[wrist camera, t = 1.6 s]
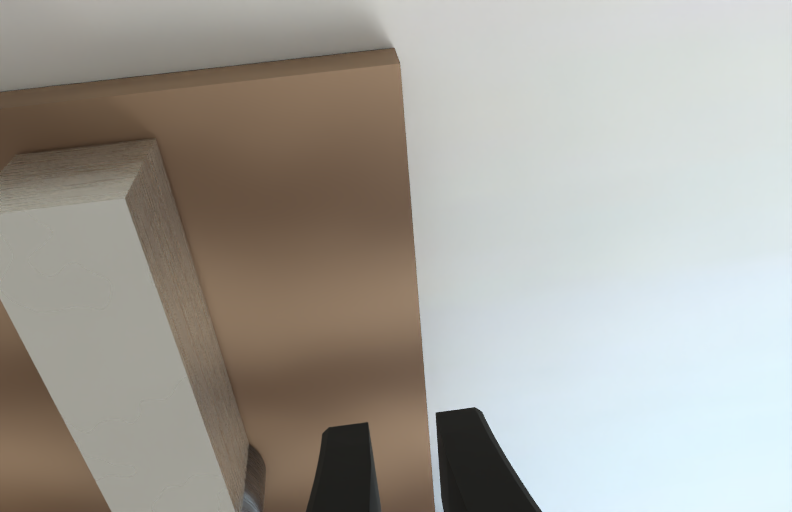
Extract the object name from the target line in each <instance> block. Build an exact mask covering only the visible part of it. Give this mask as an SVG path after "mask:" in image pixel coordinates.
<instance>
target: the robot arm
mask: <svg viewBox="0 0 792 512" xmlns="http://www.w3.org/2000/svg"><path fill="white" fill-rule="evenodd" d="M436 426H437V441H438V455H439V470H440V485H441V498H442V504H443V510H444V512H542V511H541V510H540V508H539V507H538V505H537V504H536V503H535V501H534V500H533V498H532V497H531V495H530V494H529V492H528V491H527V489H526V488H525V486H524V485H523V483H522V482H521V480H520V478H519V477H518V475H517V474H516V472H515V470H514V469H513V467H512V466H511V464H510V462H509V461H508V459H507V458H506V456H505V454H504V452H503V451H502V449H501V447H500V446H499V444H498V442H497V440H496V439H495V437H494V435H493V433H492V431H491V429H490V427H489V425H488V423H487V421H486V419H485V417H484V415H483V413H482V412H481V411H480V410H478V409H477V408H475V407H474V408H466V409H459V410H452V411H444V412H437V413H436ZM306 512H382V511H381V503H380V496H379V490H378V483H377V477H376V470H375V463H374V457H373V450H372V444H371V437H370V430H369V424H368V422H364V423H356V424H349V425H342V426H334V427H328V428H327V429H326V430H325V431H324V432H323V433H322V440H321V448H320V453H319V459H318V464H317V469H316V473H315V478H314V482H313V486H312V490H311V494H310V498H309V501H308V505H307V509H306Z"/></svg>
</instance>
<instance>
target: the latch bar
mask: <svg viewBox="0 0 792 512" xmlns="http://www.w3.org/2000/svg"><path fill="white" fill-rule="evenodd" d="M0 300H1V302H2V303H3V305H4V307H5V309H6V311H7V313H8V315H9V317H10V319H11V321H12V323H13V324H14V326H15V328H16V330H17V332H18V334H19V336H20V338H21V340H22V342H23V344H24V345H25V347H26V349H27V351H28V353H29V355H30V357H31V359H32V361H33V363H34V365H35V367H36V368H37V370H38V372H39V374H40V376H41V378H42V380H43V382H44V384H45V386H46V388H47V389H48V391H49V393H50V395H51V397H52V399H53V401H54V403H55V405H56V407H57V409H58V410H59V412H60V414H61V416H62V418H63V420H64V422H65V424H66V426H67V428H68V430H69V431H70V433H71V435H72V437H73V439H74V441H75V443H76V445H77V447H78V449H79V451H80V452H81V454H82V456H83V458H84V460H85V462H86V464H87V466H88V468H89V470H90V472H91V474H92V475H93V477H94V479H95V481H96V483H97V485H98V487H99V489H100V491H101V493H102V495H103V496H104V498H105V500H106V502H107V504H108V506H109V508H110V510H111V512H264V499H265V495H264V494H265V481H266V466H265V463H264V460H263V458H262V457H261V455H260V454H259V453H258V452H257V450H255V449H254V448H253V447H252V446H251V445H249V443H248V439H247V436H246V433H245V430H244V426H243V423H242V420H241V417H240V413H239V410H238V407H237V403H236V400H235V397H234V394H233V390H232V387H231V384H230V381H229V377H228V374H227V371H226V367H225V364H224V361H223V358H222V354H221V351H220V348H219V345H218V341H217V338H216V335H215V331H214V328H213V325H212V322H211V318H210V315H209V312H208V309H207V305H206V302H205V299H204V295H203V292H202V289H201V286H200V282H199V279H198V276H197V273H196V269H195V266H194V263H193V259H192V256H191V253H190V250H189V246H188V243H187V240H186V237H185V233H184V230H183V227H182V224H181V220H180V217H179V214H178V210H177V207H176V204H175V201H174V197H173V194H172V191H171V188H170V184H169V181H168V178H167V174H166V171H165V168H164V165H163V161H162V158H161V155H160V152H159V148H158V145H157V142H156V138H154V139H145V140H136V141H128V142H119V143H111V144H102V145H93V146H85V147H76V148H68V149H59V150H50V151H42V152H33V153H25V154H16V155H15V157H14V158H13V159H12V160H11V161H10V162H9V163H8V164H7V165H6V166H5V168H4V169H3V170H2V171H1V172H0Z"/></svg>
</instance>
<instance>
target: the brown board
mask: <svg viewBox="0 0 792 512" xmlns="http://www.w3.org/2000/svg"><path fill="white" fill-rule="evenodd" d="M154 138H156V142H157V145H158V148H159V152H160V155H161V158H162V161H163V165H164V168H165V171H166V174H167V178H168V181H169V184H170V188H171V191H172V194H173V197H174V201H175V204H176V207H177V210H178V214H179V217H180V220H181V224H182V227H183V230H184V233H185V237H186V240H187V243H188V246H189V250H190V253H191V256H192V259H193V263H194V266H195V269H196V273H197V276H198V279H199V282H200V286H201V289H202V292H203V295H204V299H205V302H206V305H207V309H208V312H209V315H210V318H211V322H212V325H213V328H214V331H215V335H216V338H217V341H218V345H219V348H220V351H221V354H222V358H223V361H224V364H225V367H226V371H227V374H228V377H229V381H230V384H231V387H232V390H233V394H234V397H235V400H236V403H237V407H238V410H239V413H240V417H241V420H242V423H243V426H244V430H245V433H246V436H247V439H248V443H249V445H251V446H252V447H253V448H254V449H255V450H257V452H258V453H259V454H260V455H261V457H262V458H263V460H264V463H265V466H266V481H265V494H264V495H265V499H264V512H306V509H307V505H308V501H309V498H310V494H311V490H312V486H313V482H314V478H315V473H316V469H317V464H318V459H319V453H320V448H321V440H322V433H323V432H324V431H325V430H326V429H327V428H328V427H334V426H342V425H349V424H356V423H364V422H368V424H369V430H370V437H371V444H372V450H373V457H374V463H375V470H376V477H377V483H378V490H379V496H380V503H381V511H382V512H435V505H434V492H433V480H432V467H431V454H430V441H429V428H428V415H427V403H426V390H425V377H424V364H423V351H422V338H421V326H420V313H419V300H418V287H417V274H416V261H415V249H414V236H413V223H412V210H411V197H410V184H409V172H408V159H407V146H406V133H405V120H404V107H403V95H402V82H401V69H400V62H399V59H398V56H397V54H396V51H395V48H389V49H380V50H371V51H363V52H354V53H345V54H336V55H327V56H318V57H309V58H300V59H291V60H282V61H273V62H265V63H256V64H247V65H238V66H229V67H220V68H211V69H202V70H193V71H184V72H175V73H166V74H158V75H149V76H140V77H131V78H122V79H113V80H104V81H95V82H86V83H77V84H68V85H60V86H51V87H42V88H33V89H24V90H15V91H6V92H0V172H1V171H2V170H3V169H4V168H5V166H6V165H7V164H8V163H9V162H10V161H11V160H12V159H13V158H14V157H15V155H16V154H25V153H33V152H42V151H50V150H59V149H68V148H76V147H85V146H93V145H102V144H111V143H119V142H128V141H136V140H145V139H154ZM0 512H111V510H110V508H109V506H108V504H107V502H106V500H105V498H104V496H103V495H102V493H101V491H100V489H99V487H98V485H97V483H96V481H95V479H94V477H93V475H92V474H91V472H90V470H89V468H88V466H87V464H86V462H85V460H84V458H83V456H82V454H81V452H80V451H79V449H78V447H77V445H76V443H75V441H74V439H73V437H72V435H71V433H70V431H69V430H68V428H67V426H66V424H65V422H64V420H63V418H62V416H61V414H60V412H59V410H58V409H57V407H56V405H55V403H54V401H53V399H52V397H51V395H50V393H49V391H48V389H47V388H46V386H45V384H44V382H43V380H42V378H41V376H40V374H39V372H38V370H37V368H36V367H35V365H34V363H33V361H32V359H31V357H30V355H29V353H28V351H27V349H26V347H25V345H24V344H23V342H22V340H21V338H20V336H19V334H18V332H17V330H16V328H15V326H14V324H13V323H12V321H11V319H10V317H9V315H8V313H7V311H6V309H5V307H4V305H3V303H2V302H1V300H0Z"/></svg>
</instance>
